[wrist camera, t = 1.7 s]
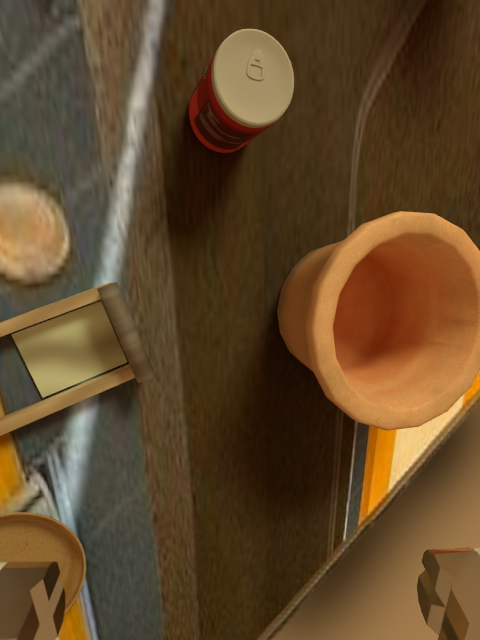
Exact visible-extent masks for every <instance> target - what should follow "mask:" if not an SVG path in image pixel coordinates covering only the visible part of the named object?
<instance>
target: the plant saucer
mask: <svg viewBox="0 0 480 640" xmlns="http://www.w3.org/2000/svg"><path fill="white" fill-rule="evenodd" d="M0 562H58V566H59V569H60V575H59V577H58V580H57V582H58V583H60V584H61V585H62V586H63V587H64V590H65V603H66V606H65V612H64V614H65V613H66V612H67V611H68V610H69V609H70V607H71V606H72V605H73V603H74V602H75V601H76V599H77V597H78V595H79V593H80V591H81V589H82V586H83V583H84V579H85V574H86V558H85V553H84V550H83V547H82V545H81V543H80V541H79V539H78V538H77V536H76V535H75V534H74V533H73V532H72V531H71V530H70V529H69V528H68V527H67V526H66V525H64V524H63V523H61V522H59V521H57V520H55V519H53V518H51V517H48V516H44V515H40V514H35V513H26V512H16V513H8V514H2V515H0Z"/></svg>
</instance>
